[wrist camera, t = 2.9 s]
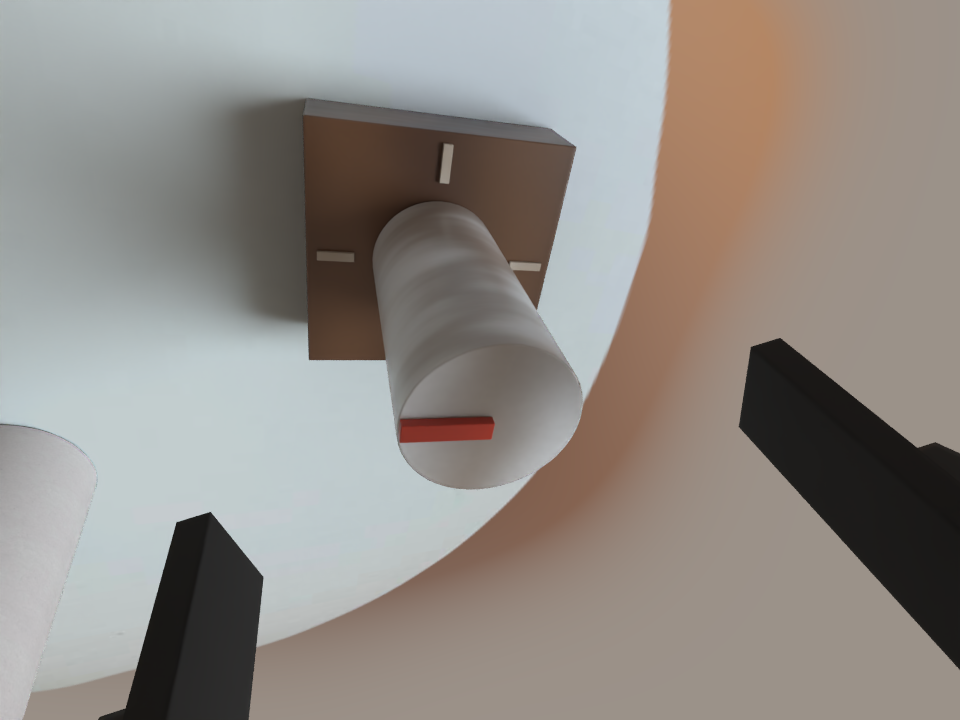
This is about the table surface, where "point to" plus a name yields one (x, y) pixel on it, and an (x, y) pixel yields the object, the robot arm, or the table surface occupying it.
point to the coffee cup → (35, 548)
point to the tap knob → (467, 353)
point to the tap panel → (409, 181)
